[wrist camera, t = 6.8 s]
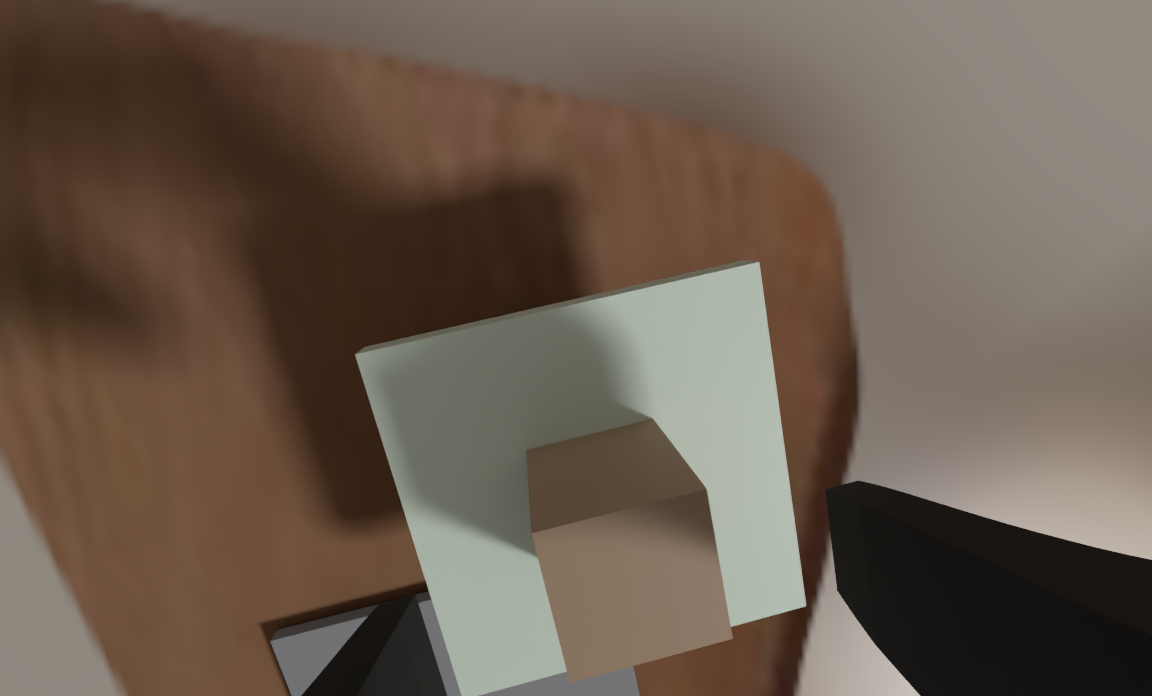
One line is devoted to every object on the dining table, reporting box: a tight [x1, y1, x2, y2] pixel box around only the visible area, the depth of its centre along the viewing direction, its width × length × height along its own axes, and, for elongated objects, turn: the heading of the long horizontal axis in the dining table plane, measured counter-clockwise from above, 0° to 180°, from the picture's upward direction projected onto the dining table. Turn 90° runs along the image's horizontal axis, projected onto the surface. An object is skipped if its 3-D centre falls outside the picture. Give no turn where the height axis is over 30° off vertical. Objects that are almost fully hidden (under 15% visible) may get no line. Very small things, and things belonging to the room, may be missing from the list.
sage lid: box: [355, 260, 806, 696], centre depth 12 cm, size 9×9×4 cm
